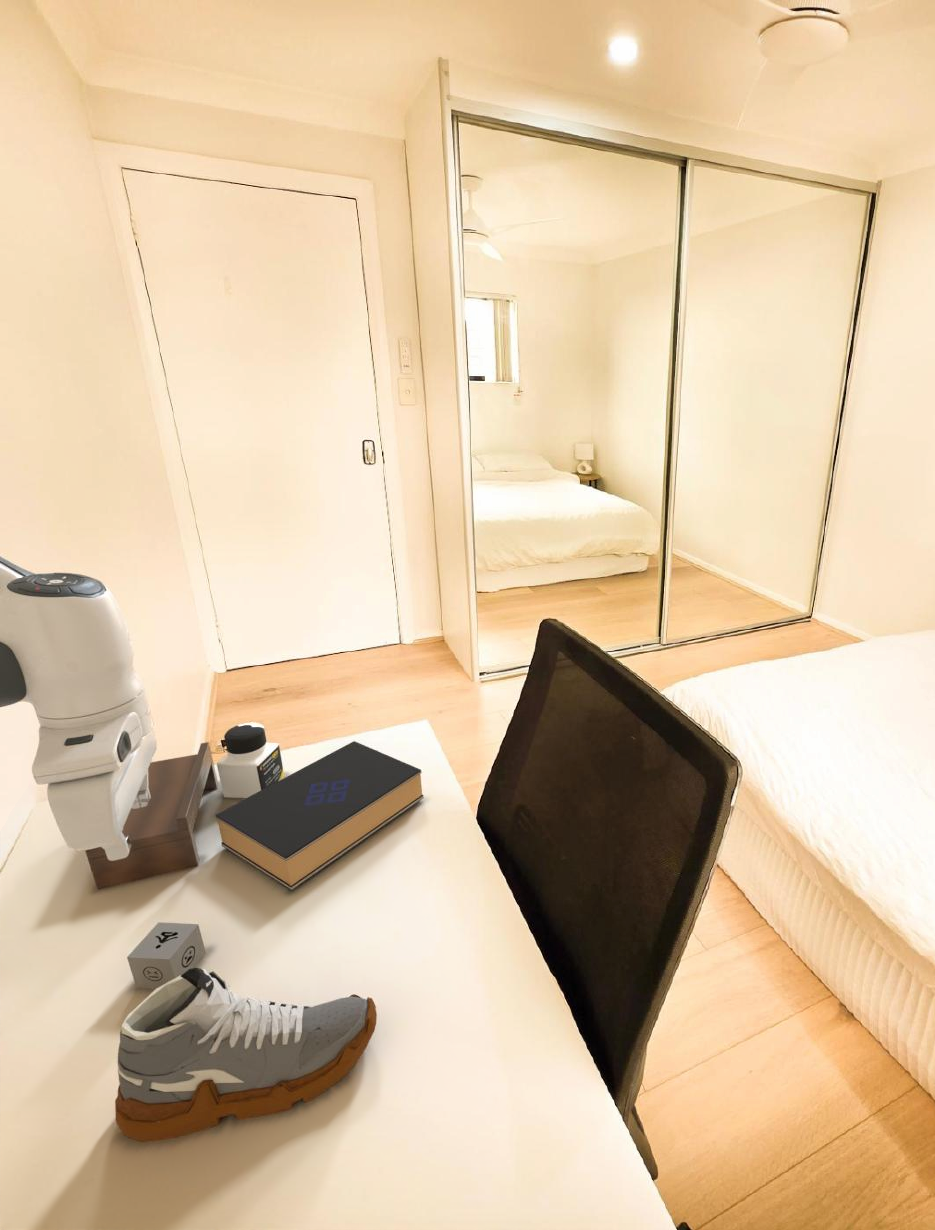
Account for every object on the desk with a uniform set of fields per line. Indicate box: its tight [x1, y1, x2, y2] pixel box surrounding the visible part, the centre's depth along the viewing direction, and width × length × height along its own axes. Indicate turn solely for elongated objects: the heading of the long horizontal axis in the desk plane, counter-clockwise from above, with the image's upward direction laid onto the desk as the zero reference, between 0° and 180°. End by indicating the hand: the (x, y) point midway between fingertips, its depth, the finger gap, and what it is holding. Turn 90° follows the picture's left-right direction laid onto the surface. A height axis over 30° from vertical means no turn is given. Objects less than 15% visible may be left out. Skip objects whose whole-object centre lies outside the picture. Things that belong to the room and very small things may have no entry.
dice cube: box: [126, 921, 207, 990], centre depth 73 cm, size 5×5×5 cm
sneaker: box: [114, 967, 378, 1143], centre depth 61 cm, size 9×24×15 cm, turn 107°
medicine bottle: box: [216, 722, 285, 799], centre depth 107 cm, size 7×7×12 cm
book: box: [214, 740, 425, 891], centre depth 99 cm, size 17×25×7 cm
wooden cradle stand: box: [84, 741, 219, 891], centre depth 96 cm, size 12×22×9 cm, turn 25°
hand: (131, 828), depth 69 cm, fingers open, 8 cm apart
